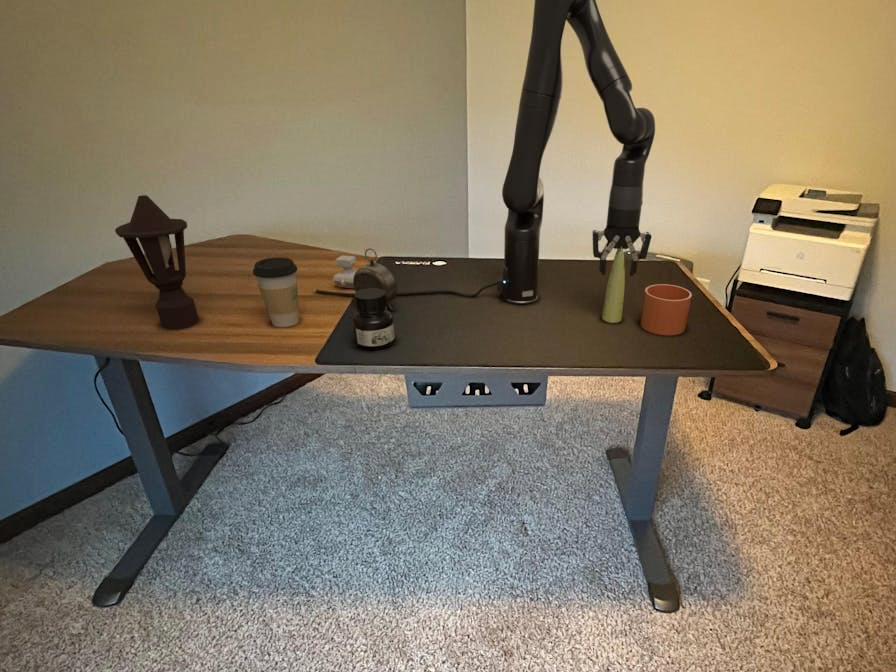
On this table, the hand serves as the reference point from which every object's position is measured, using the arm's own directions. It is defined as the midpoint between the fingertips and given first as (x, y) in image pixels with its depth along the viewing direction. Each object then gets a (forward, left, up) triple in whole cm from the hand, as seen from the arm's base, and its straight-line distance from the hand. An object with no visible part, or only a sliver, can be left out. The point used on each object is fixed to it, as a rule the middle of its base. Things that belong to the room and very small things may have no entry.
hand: (617, 274), depth 139 cm
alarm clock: (-61, 0, -12) cm, 62 cm away
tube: (0, 0, -12) cm, 12 cm away
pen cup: (+12, -2, -12) cm, 18 cm away
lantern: (-106, -13, -12) cm, 107 cm away
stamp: (-73, +16, -12) cm, 76 cm away
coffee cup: (-81, -10, -12) cm, 83 cm away
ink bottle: (-56, -19, -12) cm, 60 cm away
